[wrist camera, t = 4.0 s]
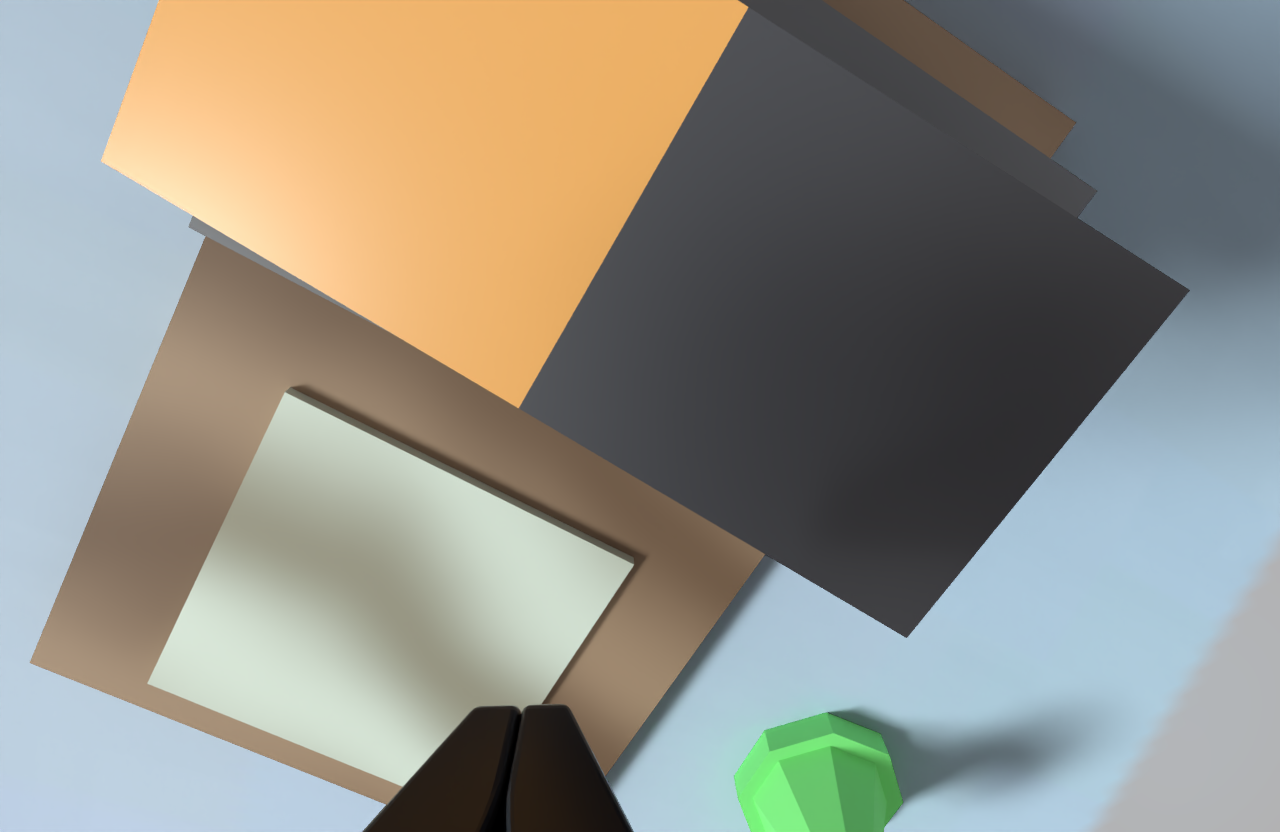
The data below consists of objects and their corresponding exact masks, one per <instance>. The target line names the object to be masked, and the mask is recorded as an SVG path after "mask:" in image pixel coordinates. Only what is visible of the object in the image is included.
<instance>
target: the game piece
mask: <svg viewBox="0 0 1280 832" xmlns="http://www.w3.org/2000/svg"><path fill="white" fill-rule="evenodd" d="M734 779H735V785H736V790H737V796H738V800H739V802H740V805H741V807H742V810H743V813H744V815H745V818H746V820H747V823H748V826H749V828H750V831H751V832H884V827H885V826H886V824H887V823H888V822H889V820H890V819H891V818H892V817H893V815H894V814H895V813H896V811H897V810H898V809H899V807H900V806H901V805H902V803H903V800H902V796H901V793H900V790H899V786H898V783H897V779H896V776H895V772H894V769H893V766H892V762H891V759H890V755H889V753H888V751H887V748H886V746H885V743H884V741H883V739H882V736H881V734H880V733H877V732H875V731H872V730H870V729H867V728H864V727H862V726H859V725H857V724H854V723H852V722H849V721H847V720H844V719H842V718H839V717H837V716H834V715H832V714H829V713H827V712H826V713H822V714H819V715H816V716H812V717H809V718H805V719H802V720H798V721H795V722H792V723H788V724H785V725H781V726H778V727H775V728H771V729H768V730H764V732H763V733H762V735H761V736H760V738H759V739H758V741H757V742H756V744H755V745H754V747H753V748H752V750H751V751H750V753H749V754H748V756H747V757H746V759H745V760H744V762H743V763H742V765H741V766H740V768H739V769H738V771H737V772H736V774H735V775H734Z"/></svg>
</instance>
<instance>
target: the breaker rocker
mask: <svg viewBox="0 0 1280 832" xmlns="http://www.w3.org/2000/svg"><path fill="white" fill-rule="evenodd" d="M101 162H103V163H105V164H106V165H108V166H110V167H111V168H113V169H115V170H117V171H118V172H120V173H122V174H123V175H125V176H127V177H128V178H130V179H132V180H133V181H135V182H137V183H139V184H140V185H142V186H144V187H145V188H147V189H149V190H150V191H152V192H154V193H155V194H157V195H159V196H160V197H162V198H164V199H166V200H167V201H169V202H171V203H172V204H174V205H176V206H177V207H179V208H181V209H182V210H184V211H186V212H188V213H189V214H191V215H193V216H194V217H196V218H198V219H199V220H201V221H203V222H204V223H206V224H208V225H210V226H211V227H213V228H215V229H216V230H218V231H220V232H221V233H223V234H225V235H226V236H228V237H230V238H231V239H233V240H235V241H237V242H238V243H240V244H242V245H243V246H245V247H247V248H248V249H250V250H252V251H253V252H255V253H257V254H259V255H260V256H262V257H264V258H265V259H267V260H269V261H270V262H272V263H274V264H275V265H277V266H279V267H280V268H282V269H284V270H286V271H287V272H289V273H291V274H292V275H294V276H296V277H297V278H299V279H301V280H302V281H304V282H306V283H308V284H309V285H311V286H313V287H314V288H316V289H318V290H319V291H321V292H323V293H324V294H326V295H328V296H330V297H331V298H333V299H335V300H336V301H338V302H340V303H341V304H343V305H345V306H346V307H348V308H350V309H351V310H353V311H355V312H357V313H358V314H360V315H362V316H363V317H365V318H367V319H368V320H370V321H372V322H373V323H375V324H377V325H379V326H380V327H382V328H384V329H385V330H387V331H389V332H390V333H392V334H394V335H395V336H397V337H399V338H400V339H402V340H404V341H406V342H407V343H409V344H411V345H412V346H414V347H416V348H417V349H419V350H421V351H422V352H424V353H426V354H428V355H429V356H431V357H433V358H434V359H436V360H438V361H439V362H441V363H443V364H444V365H446V366H448V367H449V368H451V369H453V370H455V371H456V372H458V373H460V374H461V375H463V376H465V377H466V378H468V379H470V380H471V381H473V382H475V383H477V384H478V385H480V386H482V387H483V388H485V389H487V390H488V391H490V392H492V393H493V394H495V395H497V396H499V397H500V398H502V399H504V400H505V401H507V402H509V403H510V404H512V405H514V406H515V407H517V408H519V409H520V410H522V411H524V412H526V413H527V414H529V415H531V416H532V417H534V418H536V419H537V420H539V421H541V422H542V423H544V424H546V425H548V426H549V427H551V428H553V429H554V430H556V431H558V432H559V433H561V434H563V435H564V436H566V437H568V438H569V439H571V440H573V441H575V442H576V443H578V444H580V445H581V446H583V447H585V448H586V449H588V450H590V451H591V452H593V453H595V454H597V455H598V456H600V457H602V458H603V459H605V460H607V461H608V462H610V463H612V464H613V465H615V466H617V467H618V468H620V469H622V470H624V471H625V472H627V473H629V474H630V475H632V476H634V477H635V478H637V479H639V480H640V481H642V482H644V483H646V484H647V485H649V486H651V487H652V488H654V489H656V490H657V491H659V492H661V493H662V494H664V495H666V496H668V497H669V498H671V499H673V500H674V501H676V502H678V503H679V504H681V505H683V506H684V507H686V508H688V509H689V510H691V511H693V512H695V513H696V514H698V515H700V516H701V517H703V518H705V519H706V520H708V521H710V522H711V523H713V524H715V525H717V526H718V527H720V528H722V529H723V530H725V531H727V532H728V533H730V534H732V535H733V536H735V537H737V538H738V539H740V540H742V541H744V542H745V543H747V544H749V545H750V546H752V547H754V548H755V549H757V550H759V551H760V552H762V553H764V554H766V555H767V556H769V557H771V558H772V559H774V560H776V561H777V562H779V563H781V564H782V565H784V566H786V567H788V568H789V569H791V570H793V571H794V572H796V573H798V574H799V575H801V576H803V577H804V578H806V579H808V580H809V581H811V582H813V583H815V584H816V585H818V586H820V587H821V588H823V589H825V590H826V591H828V592H830V593H831V594H833V595H835V596H837V597H838V598H840V599H842V600H843V601H845V602H847V603H848V604H850V605H852V606H853V607H855V608H857V609H858V610H860V611H862V612H864V613H865V614H867V615H869V616H870V617H872V618H874V619H875V620H877V621H879V622H880V623H882V624H884V625H886V626H887V627H889V628H891V629H892V630H894V631H896V632H897V633H899V634H901V635H902V636H904V637H906V638H907V637H908V636H909V635H910V633H911V632H912V631H913V630H914V629H915V627H916V626H917V625H918V624H919V622H920V621H921V620H922V619H923V617H924V616H925V615H926V614H927V613H928V611H929V610H930V609H931V608H932V606H933V605H934V604H935V603H936V601H937V600H938V599H939V598H940V597H941V595H942V594H943V593H944V592H945V590H946V589H947V588H948V587H949V586H950V584H951V583H952V582H953V581H954V579H955V578H956V577H957V576H958V574H959V573H960V572H961V571H962V570H963V568H964V567H965V566H966V565H967V563H968V562H969V561H970V560H971V559H972V557H973V556H974V555H975V554H976V552H977V551H978V550H979V549H980V547H981V546H982V545H983V544H984V543H985V541H986V540H987V539H988V538H989V536H990V535H991V534H992V533H993V531H994V530H995V529H996V528H997V527H998V525H999V524H1000V523H1001V522H1002V520H1003V519H1004V518H1005V517H1006V516H1007V514H1008V513H1009V512H1010V511H1011V509H1012V508H1013V507H1014V506H1015V504H1016V503H1017V502H1018V501H1019V500H1020V498H1021V497H1022V496H1023V495H1024V493H1025V492H1026V491H1027V490H1028V488H1029V487H1030V486H1031V485H1032V484H1033V482H1034V481H1035V480H1036V479H1037V477H1038V476H1039V475H1040V474H1041V473H1042V471H1043V470H1044V469H1045V468H1046V466H1047V465H1048V464H1049V463H1050V461H1051V460H1052V459H1053V458H1054V457H1055V455H1056V454H1057V453H1058V452H1059V450H1060V449H1061V448H1062V447H1063V445H1064V444H1065V443H1066V442H1067V441H1068V439H1069V438H1070V437H1071V436H1072V434H1073V433H1074V432H1075V431H1076V430H1077V428H1078V427H1079V426H1080V425H1081V423H1082V422H1083V421H1084V420H1085V418H1086V417H1087V416H1088V415H1089V414H1090V412H1091V411H1092V410H1093V409H1094V407H1095V406H1096V405H1097V404H1098V402H1099V401H1100V400H1101V399H1102V398H1103V396H1104V395H1105V394H1106V393H1107V391H1108V390H1109V389H1110V388H1111V387H1112V385H1113V384H1114V383H1115V382H1116V380H1117V379H1118V378H1119V377H1120V375H1121V374H1122V373H1123V372H1124V371H1125V369H1126V368H1127V367H1128V366H1129V364H1130V363H1131V362H1132V361H1133V360H1134V358H1135V357H1136V356H1137V355H1138V353H1139V352H1140V351H1141V350H1142V348H1143V347H1144V346H1145V345H1146V344H1147V342H1148V341H1149V340H1150V339H1151V337H1152V336H1153V335H1154V334H1155V332H1156V331H1157V330H1158V329H1159V328H1160V326H1161V325H1162V324H1163V323H1164V321H1165V320H1166V319H1167V318H1168V317H1169V315H1170V314H1171V313H1172V312H1173V310H1174V309H1175V308H1176V307H1177V305H1178V304H1179V303H1180V302H1181V301H1182V299H1183V298H1184V297H1185V296H1186V294H1187V293H1188V292H1189V291H1190V290H1189V289H1187V288H1186V287H1184V286H1182V285H1181V284H1179V283H1178V282H1176V281H1175V280H1173V279H1171V278H1170V277H1168V276H1167V275H1165V274H1164V273H1162V272H1161V271H1159V270H1157V269H1156V268H1154V267H1153V266H1151V265H1150V264H1148V263H1147V262H1145V261H1143V260H1142V259H1140V258H1139V257H1137V256H1136V255H1134V254H1133V253H1131V252H1129V251H1128V250H1126V249H1125V248H1123V247H1122V246H1120V245H1119V244H1117V243H1115V242H1114V241H1112V240H1111V239H1109V238H1108V237H1106V236H1104V235H1103V234H1101V233H1100V232H1098V231H1097V230H1095V229H1094V228H1092V227H1090V226H1089V225H1087V224H1086V223H1084V222H1083V221H1081V220H1080V219H1078V218H1076V217H1075V216H1073V215H1072V214H1070V213H1069V212H1067V211H1066V210H1064V209H1062V208H1061V207H1059V206H1058V205H1056V204H1055V203H1053V202H1051V201H1050V200H1048V199H1047V198H1045V197H1044V196H1042V195H1041V194H1039V193H1037V192H1036V191H1034V190H1033V189H1031V188H1030V187H1028V186H1027V185H1025V184H1023V183H1022V182H1020V181H1019V180H1017V179H1016V178H1014V177H1013V176H1011V175H1009V174H1008V173H1006V172H1005V171H1003V170H1002V169H1000V168H999V167H997V166H995V165H994V164H992V163H991V162H989V161H988V160H986V159H984V158H983V157H981V156H980V155H978V154H977V153H975V152H974V151H972V150H970V149H969V148H967V147H966V146H964V145H963V144H961V143H960V142H958V141H956V140H955V139H953V138H952V137H950V136H949V135H947V134H946V133H944V132H942V131H941V130H939V129H938V128H936V127H935V126H933V125H931V124H930V123H928V122H927V121H925V120H924V119H922V118H921V117H919V116H917V115H916V114H914V113H913V112H911V111H910V110H908V109H907V108H905V107H903V106H902V105H900V104H899V103H897V102H896V101H894V100H893V99H891V98H889V97H888V96H886V95H885V94H883V93H882V92H880V91H879V90H877V89H875V88H874V87H872V86H871V85H869V84H868V83H866V82H864V81H863V80H861V79H860V78H858V77H857V76H855V75H854V74H852V73H850V72H849V71H847V70H846V69H844V68H843V67H841V66H840V65H838V64H836V63H835V62H833V61H832V60H830V59H829V58H827V57H826V56H824V55H822V54H821V53H819V52H818V51H816V50H815V49H813V48H811V47H810V46H808V45H807V44H805V43H804V42H802V41H801V40H799V39H797V38H796V37H794V36H793V35H791V34H790V33H788V32H787V31H785V30H783V29H782V28H780V27H779V26H777V25H776V24H774V23H773V22H771V21H769V20H768V19H766V18H765V17H763V16H762V15H760V14H759V13H757V12H755V11H754V10H752V9H751V8H749V7H748V6H746V5H744V4H743V3H741V2H740V1H738V0H159V2H158V4H157V7H156V10H155V13H154V15H153V18H152V21H151V24H150V27H149V29H148V32H147V35H146V38H145V40H144V43H143V46H142V49H141V51H140V54H139V57H138V60H137V63H136V65H135V68H134V71H133V74H132V76H131V79H130V82H129V85H128V88H127V90H126V93H125V96H124V99H123V101H122V104H121V107H120V110H119V112H118V115H117V118H116V121H115V124H114V126H113V129H112V132H111V135H110V137H109V140H108V143H107V146H106V148H105V151H104V154H103V157H102V160H101Z"/></svg>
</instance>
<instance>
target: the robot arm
mask: <svg viewBox="0 0 1280 832" xmlns="http://www.w3.org/2000/svg"><path fill="white" fill-rule="evenodd" d="M363 832H634V831H633V829H632V827H631V825H630V823H629V821H628V819H627V817H626V815H625V814H624V812H623V810H622V808H621V806H620V804H619V802H618V800H617V798H616V796H615V794H614V792H613V790H612V788H611V786H610V784H609V782H608V781H607V779H606V777H605V775H604V773H603V771H602V769H601V767H600V765H599V763H598V761H597V759H596V757H595V755H594V753H593V751H592V749H591V748H590V746H589V744H588V742H587V740H586V738H585V736H584V734H583V732H582V730H581V728H580V726H579V724H578V722H577V720H576V718H575V716H574V715H573V713H572V711H571V709H570V708H569V707H568V706H567V705H565V704H540V705H528V706H526V707H525V708H524V709H523V711H522V713H521V711H520V709H519V708H518V707H517V706H515V705H501V706H479V707H476V708H474V709H473V710H471V711H470V712H469V714H468V715H467V716H466V717H465V718H464V719H463V720H462V721H461V722H460V724H459V725H458V726H457V727H456V728H455V729H454V730H453V731H452V732H451V734H450V735H449V736H448V737H447V738H446V739H445V740H444V741H443V742H442V744H441V745H440V746H439V747H438V748H437V749H436V750H435V751H434V753H433V754H432V755H431V756H430V757H429V758H428V759H427V760H426V761H425V763H424V764H423V765H422V766H421V767H420V768H419V769H418V770H417V771H416V773H415V774H414V775H413V776H412V777H411V778H410V779H409V780H408V781H407V783H406V784H405V785H404V786H403V787H402V788H401V789H400V790H399V791H398V793H397V794H396V795H395V796H394V797H393V798H392V799H391V800H390V801H389V803H388V804H387V805H386V806H385V807H384V808H383V809H382V810H381V812H380V813H379V814H378V815H377V816H376V817H375V818H374V819H373V820H372V822H371V823H370V824H369V825H368V826H367V827H366V828H365V829H364V830H363Z"/></svg>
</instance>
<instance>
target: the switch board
mask: <svg viewBox="0 0 1280 832" xmlns="http://www.w3.org/2000/svg"><path fill="white" fill-rule="evenodd" d="M738 1H740V2H741V3H743V4H744V5H746V6H748V7H749V8H751V9H752V10H754V11H755V12H757V13H759V14H760V15H762V16H763V17H765V18H766V19H768V20H769V21H771V22H773V23H774V24H776V25H777V26H779V27H780V28H782V29H783V30H785V31H787V32H788V33H790V34H791V35H793V36H794V37H796V38H797V39H799V40H801V41H802V42H804V43H805V44H807V45H808V46H810V47H811V48H813V49H815V50H816V51H818V52H819V53H821V54H822V55H824V56H826V57H827V58H829V59H830V60H832V61H833V62H835V63H836V64H838V65H840V66H841V67H843V68H844V69H846V70H847V71H849V72H850V73H852V74H854V75H855V76H857V77H858V78H860V79H861V80H863V81H864V82H866V83H868V84H869V85H871V86H872V87H874V88H875V89H877V90H879V91H880V92H882V93H883V94H885V95H886V96H888V97H889V98H891V99H893V100H894V101H896V102H897V103H899V104H900V105H902V106H903V107H905V108H907V109H908V110H910V111H911V112H913V113H914V114H916V115H917V116H919V117H921V118H922V119H924V120H925V121H927V122H928V123H930V124H931V125H933V126H935V127H936V128H938V129H939V130H941V131H942V132H944V133H946V134H947V135H949V136H950V137H952V138H953V139H955V140H956V141H958V142H960V143H961V144H963V145H964V146H966V147H967V148H969V149H970V150H972V151H974V152H975V153H977V154H978V155H980V156H981V157H983V158H984V159H986V160H988V161H989V162H991V163H992V164H994V165H995V166H997V167H999V168H1000V169H1002V170H1003V171H1005V172H1006V173H1008V174H1009V175H1011V176H1013V177H1014V178H1016V179H1017V180H1019V181H1020V182H1022V183H1023V184H1025V185H1027V186H1028V187H1030V188H1031V189H1033V190H1034V191H1036V192H1037V193H1039V194H1041V195H1042V196H1044V197H1045V198H1047V199H1048V200H1050V201H1051V202H1053V203H1055V204H1056V205H1058V206H1059V207H1061V208H1062V209H1064V210H1066V211H1067V212H1069V213H1070V214H1072V215H1073V216H1075V217H1076V218H1078V216H1079V215H1080V214H1081V212H1082V211H1083V210H1084V208H1085V207H1086V206H1087V204H1088V203H1089V202H1090V200H1091V199H1092V197H1093V196H1094V195H1095V193H1096V192H1097V190H1095V189H1094V188H1092V187H1091V186H1089V185H1088V184H1086V183H1085V182H1084V181H1082V180H1081V179H1079V178H1078V177H1076V176H1075V175H1073V174H1072V173H1071V172H1069V171H1068V170H1066V169H1065V168H1063V167H1062V166H1060V165H1059V164H1058V163H1056V162H1055V161H1053V160H1052V159H1050V158H1051V157H1052V156H1053V154H1054V153H1055V151H1056V150H1057V149H1058V147H1059V146H1060V144H1061V143H1062V142H1063V140H1064V139H1065V138H1066V136H1067V135H1068V133H1069V132H1070V131H1071V129H1072V128H1073V126H1074V125H1075V124H1076V122H1074V121H1073V120H1072V119H1070V118H1069V117H1067V116H1066V115H1065V114H1063V113H1062V112H1060V111H1059V110H1058V109H1056V108H1055V107H1053V106H1052V105H1050V104H1049V103H1048V102H1046V101H1045V100H1043V99H1042V98H1041V97H1039V96H1038V95H1036V94H1035V93H1034V92H1032V91H1031V90H1029V89H1028V88H1027V87H1025V86H1024V85H1022V84H1021V83H1020V82H1018V81H1017V80H1015V79H1014V78H1012V77H1011V76H1010V75H1008V74H1007V73H1005V72H1004V71H1003V70H1001V69H1000V68H998V67H997V66H996V65H994V64H993V63H991V62H990V61H989V60H987V59H986V58H984V57H983V56H982V55H980V54H979V53H977V52H976V51H974V50H973V49H972V48H970V47H969V46H967V45H966V44H965V43H963V42H962V41H960V40H959V39H958V38H956V37H955V36H953V35H952V34H951V33H949V32H948V31H946V30H945V29H944V28H942V27H941V26H939V25H938V24H936V23H935V22H934V21H932V20H931V19H929V18H928V17H927V16H925V15H924V14H922V13H921V12H920V11H918V10H917V9H915V8H914V7H913V6H911V5H910V4H908V3H907V2H905V1H904V0H738ZM189 228H191V229H193V230H195V231H197V232H199V233H201V234H203V235H204V236H206V237H205V239H204V241H203V244H202V246H201V249H200V251H199V254H198V256H197V258H196V261H195V263H194V266H193V268H192V271H191V273H190V275H189V278H188V280H187V283H186V285H185V287H184V290H183V292H182V295H181V297H180V300H179V302H178V304H177V307H176V309H175V312H174V314H173V317H172V319H171V321H170V324H169V326H168V329H167V331H166V334H165V336H164V338H163V341H162V343H161V346H160V348H159V351H158V353H157V355H156V358H155V360H154V363H153V365H152V368H151V370H150V372H149V375H148V377H147V380H146V382H145V384H144V387H143V389H142V392H141V394H140V397H139V399H138V401H137V404H136V406H135V409H134V411H133V414H132V416H131V418H130V421H129V423H128V426H127V428H126V431H125V433H124V435H123V438H122V440H121V443H120V445H119V448H118V450H117V452H116V455H115V457H114V460H113V462H112V465H111V467H110V469H109V472H108V474H107V477H106V479H105V481H104V484H103V486H102V489H101V491H100V494H99V496H98V498H97V501H96V503H95V506H94V508H93V511H92V513H91V515H90V518H89V520H88V523H87V525H86V528H85V530H84V532H83V535H82V537H81V540H80V542H79V545H78V547H77V549H76V552H75V554H74V557H73V559H72V562H71V564H70V566H69V569H68V571H67V574H66V576H65V578H64V581H63V583H62V586H61V588H60V591H59V593H58V595H57V598H56V600H55V603H54V605H53V608H52V610H51V612H50V615H49V617H48V620H47V622H46V625H45V627H44V629H43V632H42V634H41V637H40V639H39V642H38V644H37V646H36V649H35V651H34V654H33V656H32V659H31V661H30V663H31V664H34V665H36V666H39V667H41V668H44V669H46V670H49V671H51V672H54V673H56V674H59V675H61V676H64V677H67V678H69V679H72V680H74V681H77V682H79V683H82V684H84V685H87V686H89V687H92V688H94V689H97V690H99V691H102V692H104V693H107V694H109V695H112V696H114V697H117V698H119V699H122V700H124V701H127V702H129V703H132V704H135V705H137V706H140V707H142V708H145V709H147V710H150V711H152V712H155V713H157V714H160V715H162V716H165V717H167V718H170V719H172V720H175V721H177V722H180V723H182V724H185V725H187V726H190V727H192V728H195V729H197V730H200V731H203V732H205V733H208V734H210V735H213V736H215V737H218V738H220V739H223V740H225V741H228V742H230V743H233V744H235V745H238V746H240V747H243V748H245V749H248V750H250V751H253V752H255V753H258V754H260V755H263V756H265V757H268V758H270V759H273V760H276V761H278V762H281V763H283V764H286V765H288V766H291V767H293V768H296V769H298V770H301V771H303V772H306V773H308V774H311V775H313V776H316V777H318V778H321V779H323V780H326V781H328V782H331V783H333V784H336V785H338V786H341V787H344V788H346V789H349V790H351V791H354V792H356V793H359V794H361V795H364V796H366V797H369V798H371V799H374V800H376V801H379V802H381V803H384V804H386V805H387V804H388V803H389V801H390V800H391V799H392V798H393V797H394V796H395V795H396V794H397V793H398V791H399V790H400V789H401V788H402V787H403V786H404V785H405V784H406V783H407V781H408V780H409V779H410V778H411V777H412V776H413V775H414V774H415V773H416V771H417V770H418V769H419V768H420V767H421V766H422V765H423V764H424V763H425V761H426V760H427V759H428V758H429V757H430V756H431V755H432V754H433V753H434V751H435V750H436V749H437V748H438V747H439V746H440V745H441V744H442V742H443V741H444V740H445V739H446V738H447V737H448V736H449V735H450V734H451V732H452V731H453V730H454V729H455V728H456V727H457V726H458V725H459V724H460V722H461V721H462V720H463V719H464V718H465V717H466V716H467V715H468V714H469V712H470V711H471V710H473V709H474V708H476V707H479V706H501V705H515V706H517V707H518V708H519V709H520V711H521V713H522V711H523V709H524V708H525V707H526V706H528V705H540V704H565V705H567V706H568V707H569V708H570V709H571V711H572V713H573V715H574V716H575V718H576V720H577V722H578V724H579V726H580V728H581V730H582V732H583V734H584V736H585V738H586V740H587V742H588V744H589V746H590V748H591V749H592V751H593V753H594V755H595V757H596V759H597V761H598V763H599V765H600V767H601V769H602V771H603V773H604V775H605V776H606V775H607V773H608V772H609V770H610V769H611V768H612V766H613V765H614V763H615V762H616V761H617V759H618V758H619V757H620V755H621V754H622V752H623V751H624V750H625V748H626V747H627V745H628V744H629V743H630V741H631V740H632V738H633V737H634V736H635V734H636V733H637V732H638V730H639V729H640V727H641V726H642V725H643V723H644V722H645V720H646V719H647V718H648V716H649V715H650V713H651V712H652V711H653V709H654V708H655V707H656V705H657V704H658V702H659V701H660V700H661V698H662V697H663V695H664V694H665V693H666V691H667V690H668V689H669V687H670V686H671V684H672V683H673V682H674V680H675V679H676V677H677V676H678V675H679V673H680V672H681V670H682V669H683V668H684V666H685V665H686V664H687V662H688V661H689V659H690V658H691V657H692V655H693V654H694V652H695V651H696V650H697V648H698V647H699V645H700V644H701V643H702V641H703V640H704V639H705V637H706V636H707V634H708V633H709V632H710V630H711V629H712V627H713V626H714V625H715V623H716V622H717V621H718V619H719V618H720V616H721V615H722V614H723V612H724V611H725V609H726V608H727V607H728V605H729V604H730V602H731V601H732V600H733V598H734V597H735V596H736V594H737V593H738V591H739V590H740V589H741V587H742V586H743V584H744V583H745V582H746V580H747V579H748V577H749V576H750V575H751V573H752V572H753V571H754V569H755V568H756V566H757V565H758V564H759V562H760V561H761V559H762V558H763V557H764V555H765V554H764V553H762V552H760V551H759V550H757V549H755V548H754V547H752V546H750V545H749V544H747V543H745V542H744V541H742V540H740V539H738V538H737V537H735V536H733V535H732V534H730V533H728V532H727V531H725V530H723V529H722V528H720V527H718V526H717V525H715V524H713V523H711V522H710V521H708V520H706V519H705V518H703V517H701V516H700V515H698V514H696V513H695V512H693V511H691V510H689V509H688V508H686V507H684V506H683V505H681V504H679V503H678V502H676V501H674V500H673V499H671V498H669V497H668V496H666V495H664V494H662V493H661V492H659V491H657V490H656V489H654V488H652V487H651V486H649V485H647V484H646V483H644V482H642V481H640V480H639V479H637V478H635V477H634V476H632V475H630V474H629V473H627V472H625V471H624V470H622V469H620V468H618V467H617V466H615V465H613V464H612V463H610V462H608V461H607V460H605V459H603V458H602V457H600V456H598V455H597V454H595V453H593V452H591V451H590V450H588V449H586V448H585V447H583V446H581V445H580V444H578V443H576V442H575V441H573V440H571V439H569V438H568V437H566V436H564V435H563V434H561V433H559V432H558V431H556V430H554V429H553V428H551V427H549V426H548V425H546V424H544V423H542V422H541V421H539V420H537V419H536V418H534V417H532V416H531V415H529V414H527V413H526V412H524V411H522V410H520V409H519V408H517V407H515V406H514V405H512V404H510V403H509V402H507V401H505V400H504V399H502V398H500V397H499V396H497V395H495V394H493V393H492V392H490V391H488V390H487V389H485V388H483V387H482V386H480V385H478V384H477V383H475V382H473V381H471V380H470V379H468V378H466V377H465V376H463V375H461V374H460V373H458V372H456V371H455V370H453V369H451V368H449V367H448V366H446V365H444V364H443V363H441V362H439V361H438V360H436V359H434V358H433V357H431V356H429V355H428V354H426V353H424V352H422V351H421V350H419V349H417V348H416V347H414V346H412V345H411V344H409V343H407V342H406V341H404V340H402V339H400V338H399V337H397V336H395V335H394V334H392V333H390V332H389V331H387V330H385V329H384V328H382V327H380V326H379V325H377V324H375V323H373V322H372V321H370V320H368V319H367V318H365V317H363V316H362V315H360V314H358V313H357V312H355V311H353V310H351V309H350V308H348V307H346V306H345V305H343V304H341V303H340V302H338V301H336V300H335V299H333V298H331V297H330V296H328V295H326V294H324V293H323V292H321V291H319V290H318V289H316V288H314V287H313V286H311V285H309V284H308V283H306V282H304V281H302V280H301V279H299V278H297V277H296V276H294V275H292V274H291V273H289V272H287V271H286V270H284V269H282V268H280V267H279V266H277V265H275V264H274V263H272V262H270V261H269V260H267V259H265V258H264V257H262V256H260V255H259V254H257V253H255V252H253V251H252V250H250V249H248V248H247V247H245V246H243V245H242V244H240V243H238V242H237V241H235V240H233V239H231V238H230V237H228V236H226V235H225V234H223V233H221V232H220V231H218V230H216V229H215V228H213V227H211V226H210V225H208V224H206V223H204V222H203V221H201V220H199V219H198V218H196V217H194V216H193V217H192V219H191V222H190V224H189Z"/></svg>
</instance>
